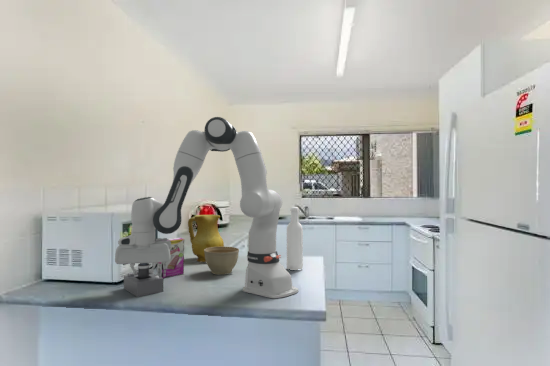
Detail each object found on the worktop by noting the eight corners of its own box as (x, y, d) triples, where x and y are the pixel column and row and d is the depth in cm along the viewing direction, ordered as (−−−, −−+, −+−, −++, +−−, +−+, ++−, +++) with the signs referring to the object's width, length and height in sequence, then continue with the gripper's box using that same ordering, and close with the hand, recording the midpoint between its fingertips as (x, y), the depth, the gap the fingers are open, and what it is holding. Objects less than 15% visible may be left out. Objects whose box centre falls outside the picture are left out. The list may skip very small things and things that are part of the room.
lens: (150, 283, 141) (151, 262, 141) (146, 286, 137) (146, 264, 137) (140, 283, 141) (140, 262, 141) (136, 285, 137) (136, 264, 137)
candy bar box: (162, 278, 155) (162, 241, 155) (156, 276, 159) (156, 239, 159) (184, 274, 163) (184, 238, 163) (178, 272, 167) (178, 237, 167)
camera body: (163, 291, 137) (163, 275, 137) (137, 296, 130) (137, 280, 130) (148, 283, 147) (148, 269, 147) (123, 288, 140) (123, 273, 140)
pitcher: (204, 264, 182) (204, 215, 183) (184, 260, 195) (184, 214, 196) (230, 260, 194) (230, 214, 196) (210, 257, 207) (209, 214, 209)
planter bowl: (213, 279, 155) (213, 253, 155) (198, 271, 168) (198, 248, 168) (245, 273, 164) (245, 249, 164) (228, 267, 177) (228, 245, 177)
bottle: (305, 268, 174) (305, 207, 174) (298, 271, 167) (298, 207, 167) (290, 266, 178) (290, 206, 178) (283, 269, 171) (283, 207, 171)
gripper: (171, 236, 144) (171, 271, 144) (117, 238, 140) (117, 273, 140) (170, 239, 138) (170, 274, 137) (113, 240, 134) (113, 277, 134)
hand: (143, 274), depth 139 cm, fingers open, 4 cm apart
